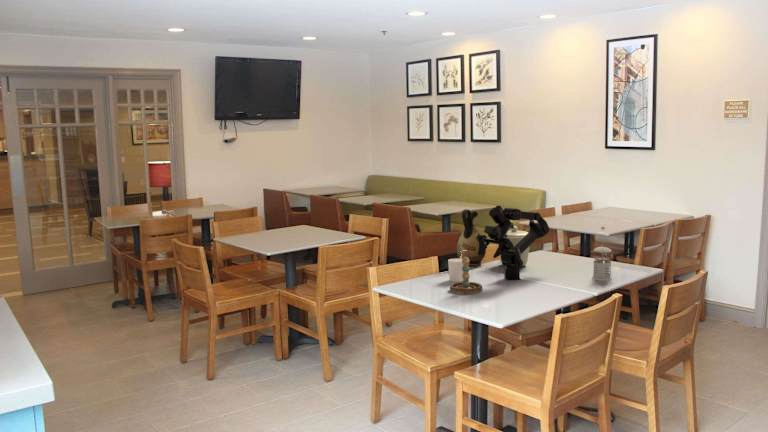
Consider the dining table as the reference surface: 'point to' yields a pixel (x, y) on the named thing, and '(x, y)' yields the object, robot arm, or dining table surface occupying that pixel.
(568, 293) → the dining table surface
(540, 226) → the robot arm
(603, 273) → the french press
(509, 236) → the canister
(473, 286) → the groove tray
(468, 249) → the ceramic jug
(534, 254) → the dining table surface
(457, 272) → the white cup
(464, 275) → the post
